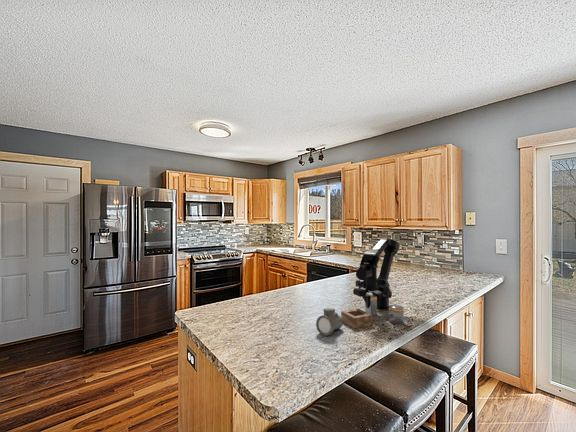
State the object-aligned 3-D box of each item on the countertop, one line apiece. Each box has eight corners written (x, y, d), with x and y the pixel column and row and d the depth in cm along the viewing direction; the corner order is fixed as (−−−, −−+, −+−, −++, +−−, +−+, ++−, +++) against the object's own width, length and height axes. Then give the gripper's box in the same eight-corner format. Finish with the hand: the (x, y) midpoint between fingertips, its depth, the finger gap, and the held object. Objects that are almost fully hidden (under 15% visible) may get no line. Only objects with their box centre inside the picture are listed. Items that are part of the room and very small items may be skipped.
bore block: (358, 317, 136) (358, 308, 136) (372, 324, 127) (372, 315, 127) (341, 320, 132) (341, 311, 132) (354, 328, 123) (354, 318, 123)
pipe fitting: (331, 337, 112) (331, 311, 114) (315, 334, 118) (315, 309, 119) (346, 332, 121) (346, 308, 123) (331, 329, 126) (330, 305, 128)
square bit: (371, 311, 145) (371, 294, 145) (377, 314, 141) (376, 296, 141) (365, 312, 143) (365, 295, 143) (370, 315, 140) (370, 297, 140)
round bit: (396, 318, 135) (396, 304, 135) (407, 323, 129) (406, 308, 129) (385, 320, 132) (385, 305, 132) (396, 325, 126) (396, 310, 126)
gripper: (374, 272, 154) (374, 301, 153) (346, 275, 146) (346, 305, 146) (389, 276, 143) (389, 306, 143) (360, 279, 136) (360, 311, 136)
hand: (371, 307), depth 142 cm, fingers closed on square bit, 4 cm apart
